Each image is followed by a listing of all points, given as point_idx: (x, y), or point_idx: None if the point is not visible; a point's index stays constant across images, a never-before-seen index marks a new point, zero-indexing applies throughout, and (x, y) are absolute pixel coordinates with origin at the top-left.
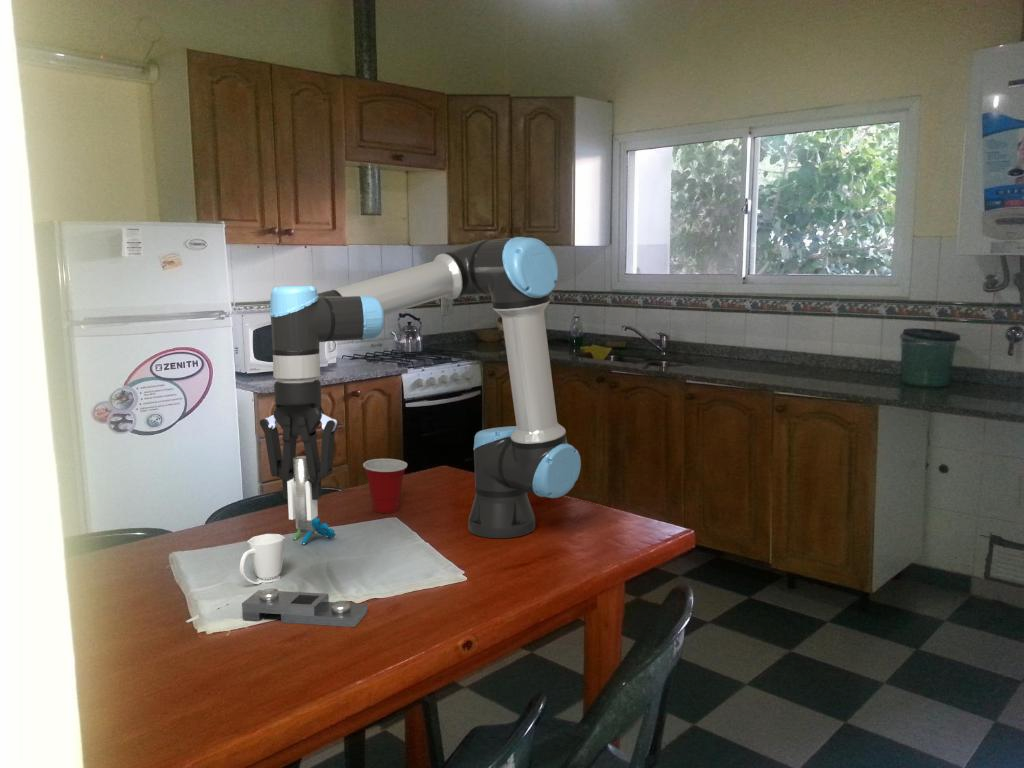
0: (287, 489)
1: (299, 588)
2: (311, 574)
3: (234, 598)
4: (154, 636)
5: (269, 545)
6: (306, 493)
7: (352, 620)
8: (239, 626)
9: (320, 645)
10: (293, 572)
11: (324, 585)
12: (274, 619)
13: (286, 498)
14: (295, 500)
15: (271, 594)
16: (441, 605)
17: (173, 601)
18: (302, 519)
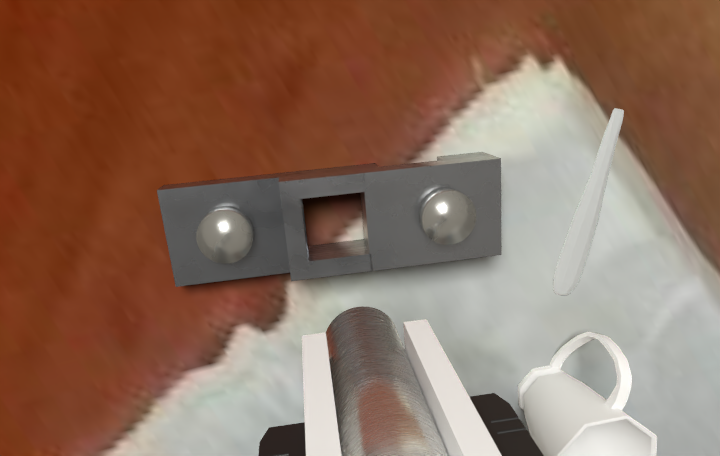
0: (493, 437)
1: None
2: None
3: (570, 263)
4: (655, 8)
5: (575, 430)
6: (333, 428)
7: (164, 188)
8: (472, 116)
9: (191, 56)
10: None
11: None
12: None
13: (481, 397)
14: (413, 392)
15: (433, 204)
16: (3, 369)
17: (711, 212)
18: (352, 332)
